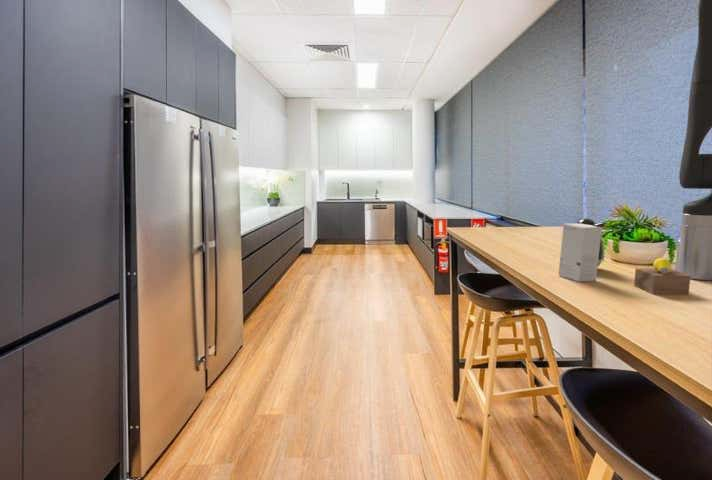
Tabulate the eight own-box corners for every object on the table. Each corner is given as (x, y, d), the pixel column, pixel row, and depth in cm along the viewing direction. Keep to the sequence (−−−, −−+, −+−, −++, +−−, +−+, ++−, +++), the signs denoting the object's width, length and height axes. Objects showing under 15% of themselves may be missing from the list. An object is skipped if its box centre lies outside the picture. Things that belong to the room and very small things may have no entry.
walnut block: (634, 287, 111) (635, 268, 110) (667, 288, 110) (669, 268, 110) (652, 296, 103) (654, 275, 103) (688, 296, 103) (690, 275, 102)
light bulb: (664, 270, 108) (672, 258, 106) (669, 281, 103) (676, 269, 101) (649, 265, 109) (656, 253, 107) (653, 276, 104) (660, 264, 102)
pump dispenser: (592, 273, 126) (595, 221, 123) (558, 267, 134) (561, 218, 132) (610, 269, 131) (614, 218, 129) (576, 263, 140) (579, 216, 138)
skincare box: (557, 275, 123) (560, 223, 121) (576, 274, 125) (579, 222, 123) (579, 282, 115) (583, 226, 113) (598, 281, 117) (602, 225, 115)
